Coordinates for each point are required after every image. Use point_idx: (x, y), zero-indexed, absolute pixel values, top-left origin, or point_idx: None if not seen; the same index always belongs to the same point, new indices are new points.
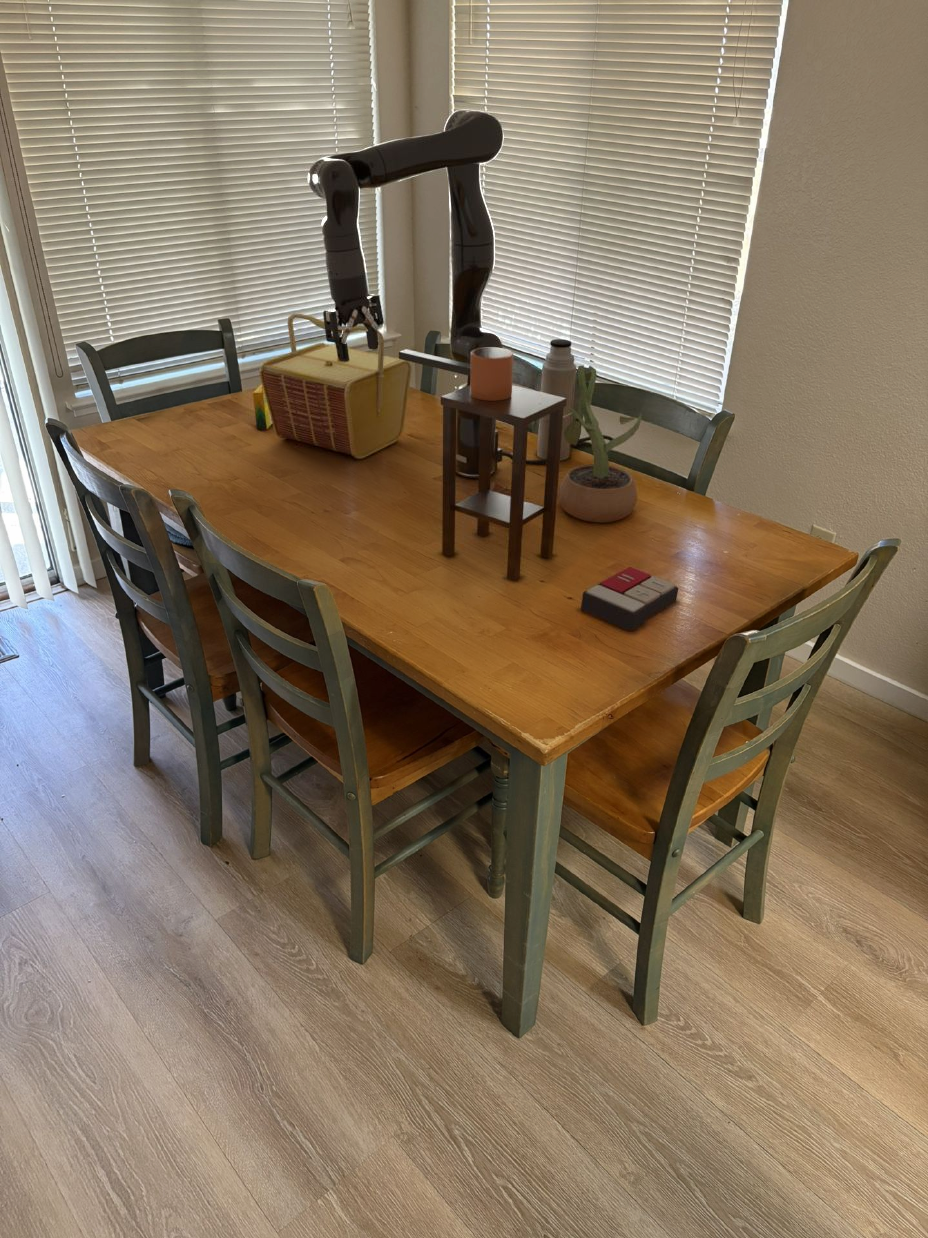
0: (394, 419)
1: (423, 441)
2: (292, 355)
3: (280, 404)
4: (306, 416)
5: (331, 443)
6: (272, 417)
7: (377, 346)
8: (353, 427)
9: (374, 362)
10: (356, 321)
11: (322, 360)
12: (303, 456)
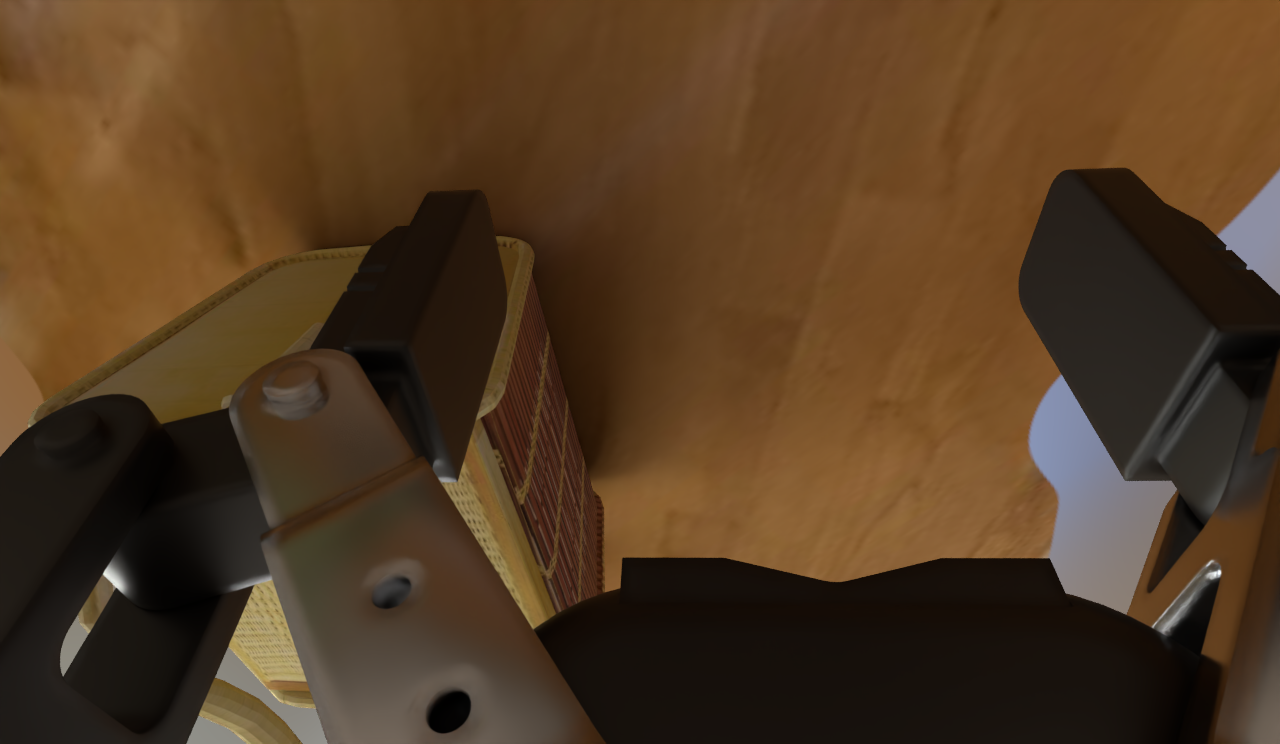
0: (272, 295)
1: (220, 184)
2: None
3: (589, 559)
4: (566, 469)
5: (550, 342)
6: (603, 543)
7: (438, 195)
8: None
9: None
10: (930, 663)
11: None
12: (622, 377)
